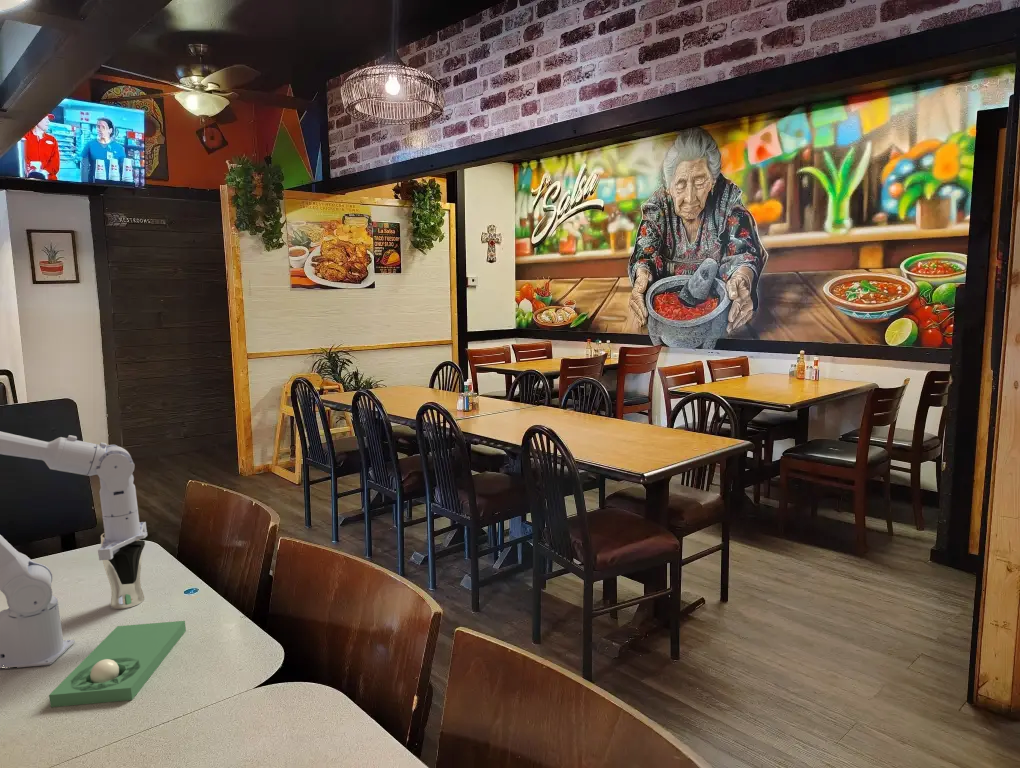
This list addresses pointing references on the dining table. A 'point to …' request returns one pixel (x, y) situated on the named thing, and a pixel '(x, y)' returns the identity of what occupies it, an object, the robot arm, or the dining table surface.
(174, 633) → the putting mat
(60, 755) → the dining table surface
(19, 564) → the robot arm
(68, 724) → the dining table surface
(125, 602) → the beer glass
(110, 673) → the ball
